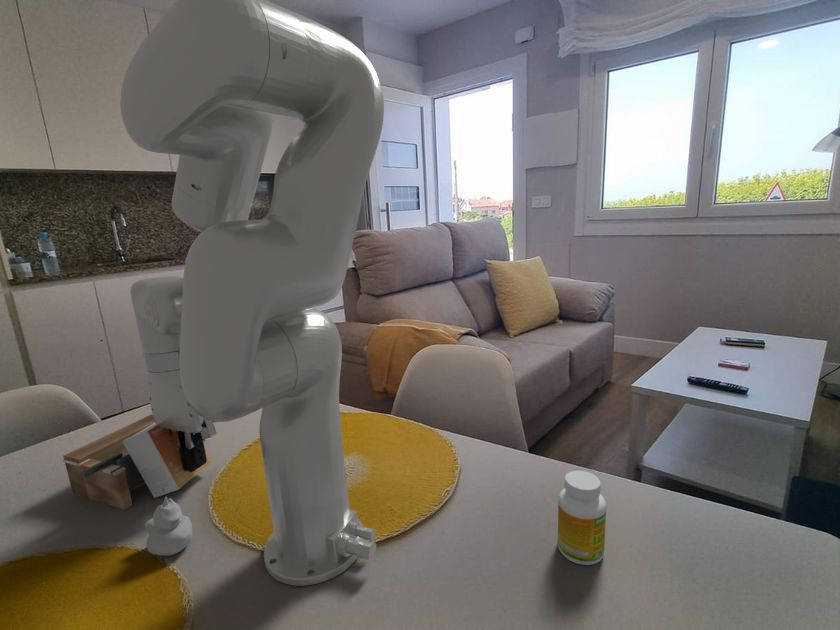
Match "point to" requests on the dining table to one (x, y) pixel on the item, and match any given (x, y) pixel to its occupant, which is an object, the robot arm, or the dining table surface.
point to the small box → (159, 460)
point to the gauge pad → (120, 460)
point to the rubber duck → (168, 529)
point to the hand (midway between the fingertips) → (195, 466)
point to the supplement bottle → (581, 518)
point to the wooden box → (109, 480)
